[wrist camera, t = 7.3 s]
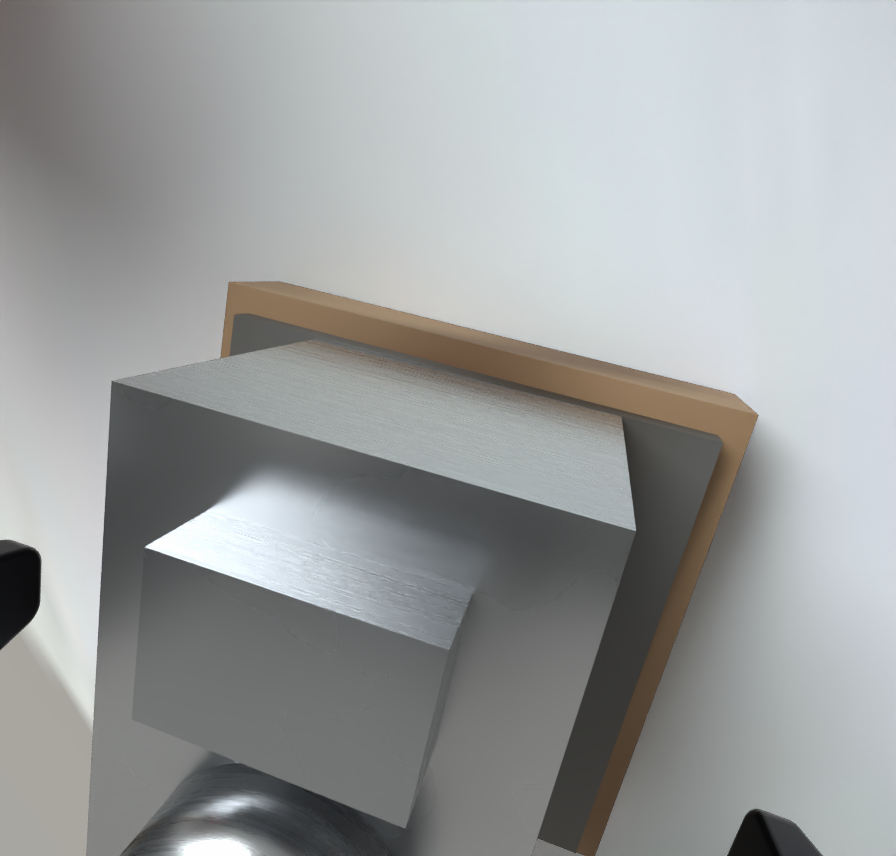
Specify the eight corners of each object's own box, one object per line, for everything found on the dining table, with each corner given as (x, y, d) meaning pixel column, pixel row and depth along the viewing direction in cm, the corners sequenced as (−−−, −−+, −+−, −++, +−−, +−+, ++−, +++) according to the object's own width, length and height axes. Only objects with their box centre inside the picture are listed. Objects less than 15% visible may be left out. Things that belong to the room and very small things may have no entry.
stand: (734, 393, 10) (765, 421, 8) (595, 786, 12) (593, 880, 10) (279, 281, 11) (213, 281, 9) (230, 650, 13) (169, 711, 12)
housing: (621, 416, 8) (645, 597, 4) (502, 814, 10) (415, 1272, 6) (316, 338, 9) (5, 402, 4) (260, 721, 11) (2, 1053, 6)
